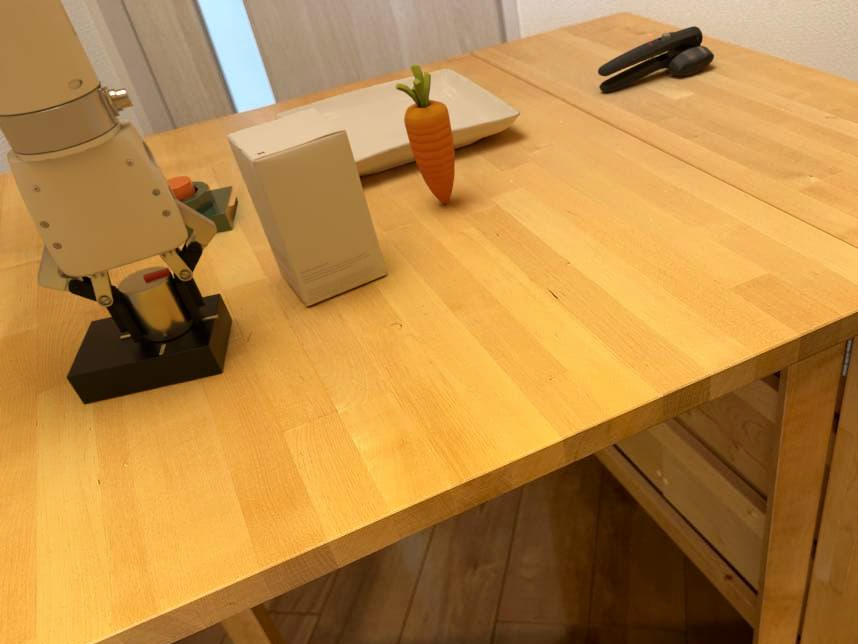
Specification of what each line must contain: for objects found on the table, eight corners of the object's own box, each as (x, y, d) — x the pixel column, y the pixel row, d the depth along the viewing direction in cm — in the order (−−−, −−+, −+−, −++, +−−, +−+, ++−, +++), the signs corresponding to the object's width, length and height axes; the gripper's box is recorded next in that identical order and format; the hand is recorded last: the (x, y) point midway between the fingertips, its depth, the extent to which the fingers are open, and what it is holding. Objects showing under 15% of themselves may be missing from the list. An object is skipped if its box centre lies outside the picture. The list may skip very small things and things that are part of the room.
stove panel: (83, 404, 66) (64, 376, 64) (106, 346, 73) (90, 319, 71) (225, 372, 67) (211, 343, 65) (235, 318, 74) (222, 290, 72)
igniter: (146, 248, 89) (129, 217, 86) (157, 218, 95) (143, 188, 92) (232, 230, 90) (218, 198, 87) (238, 202, 96) (225, 171, 93)
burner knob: (145, 348, 66) (116, 296, 63) (143, 324, 69) (115, 273, 66) (196, 331, 67) (170, 279, 64) (192, 308, 71) (167, 257, 67)
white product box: (391, 275, 77) (348, 128, 67) (307, 309, 74) (249, 160, 64) (358, 243, 83) (314, 104, 73) (279, 273, 80) (223, 133, 70)
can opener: (692, 58, 116) (692, 18, 112) (718, 69, 111) (719, 27, 107) (587, 87, 112) (584, 47, 108) (610, 100, 106) (607, 58, 103)
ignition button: (163, 206, 88) (156, 192, 87) (168, 193, 91) (161, 179, 90) (194, 199, 89) (188, 185, 87) (198, 187, 91) (192, 173, 90)
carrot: (455, 215, 85) (426, 76, 76) (417, 212, 87) (383, 77, 77) (473, 194, 89) (447, 59, 79) (436, 193, 90) (405, 60, 81)
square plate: (527, 139, 100) (523, 109, 97) (325, 201, 92) (315, 171, 90) (453, 88, 119) (448, 62, 116) (281, 136, 112) (272, 110, 109)
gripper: (171, 80, 61) (254, 276, 73) (-59, 139, 57) (69, 337, 69) (180, 104, 56) (268, 311, 68) (-73, 171, 52) (68, 380, 63)
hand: (167, 322), depth 68 cm, fingers closed on burner knob, 4 cm apart
